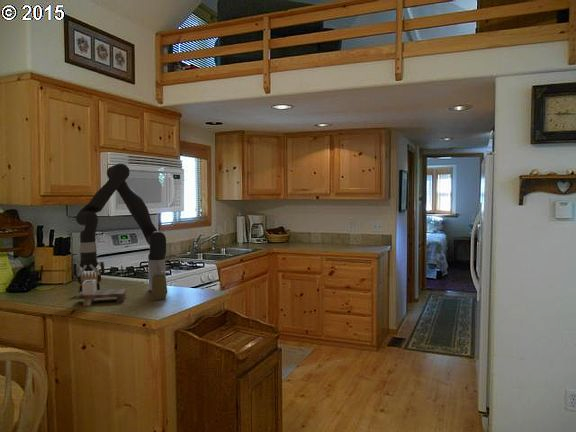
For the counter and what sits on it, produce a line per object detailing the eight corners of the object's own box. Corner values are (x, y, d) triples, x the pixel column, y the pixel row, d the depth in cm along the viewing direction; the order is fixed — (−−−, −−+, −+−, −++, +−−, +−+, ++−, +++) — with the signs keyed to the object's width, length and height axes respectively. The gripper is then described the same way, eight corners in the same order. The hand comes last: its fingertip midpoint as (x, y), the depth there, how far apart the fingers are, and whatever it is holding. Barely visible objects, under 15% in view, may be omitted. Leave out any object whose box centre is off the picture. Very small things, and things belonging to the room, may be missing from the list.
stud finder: (96, 290, 224) (96, 279, 224) (93, 294, 216) (93, 282, 215) (86, 291, 223) (85, 279, 223) (82, 295, 214) (82, 282, 214)
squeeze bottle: (153, 301, 219) (152, 266, 218) (150, 298, 226) (149, 264, 225) (169, 299, 222) (168, 264, 222) (165, 296, 230) (165, 262, 229)
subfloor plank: (127, 296, 231) (126, 287, 231) (123, 303, 216) (123, 294, 216) (82, 299, 226) (82, 290, 226) (75, 306, 210) (75, 297, 210)
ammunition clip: (79, 295, 236) (78, 273, 235) (78, 294, 237) (77, 272, 237) (100, 292, 242) (99, 271, 242) (99, 291, 244) (98, 270, 243)
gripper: (104, 249, 224) (105, 280, 224) (74, 250, 220) (75, 282, 221) (102, 251, 216) (103, 283, 217) (71, 252, 213) (72, 285, 214)
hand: (89, 282), depth 219 cm, fingers open, 8 cm apart
